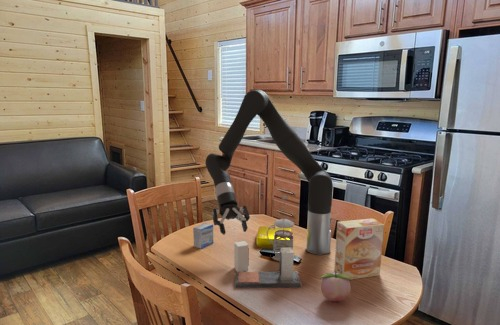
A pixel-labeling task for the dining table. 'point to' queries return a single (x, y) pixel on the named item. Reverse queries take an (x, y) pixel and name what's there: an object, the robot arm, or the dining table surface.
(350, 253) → the coffeecake box
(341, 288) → the decorative fruit
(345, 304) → the dining table surface
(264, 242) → the element tile
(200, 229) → the medicine box
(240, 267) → the block
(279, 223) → the french press
